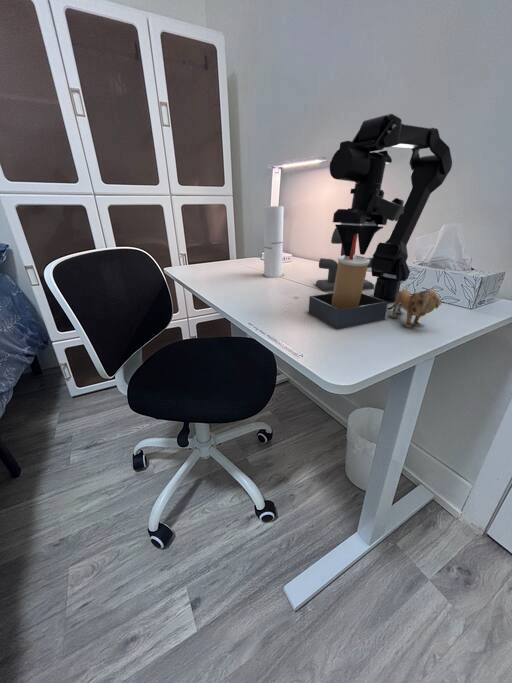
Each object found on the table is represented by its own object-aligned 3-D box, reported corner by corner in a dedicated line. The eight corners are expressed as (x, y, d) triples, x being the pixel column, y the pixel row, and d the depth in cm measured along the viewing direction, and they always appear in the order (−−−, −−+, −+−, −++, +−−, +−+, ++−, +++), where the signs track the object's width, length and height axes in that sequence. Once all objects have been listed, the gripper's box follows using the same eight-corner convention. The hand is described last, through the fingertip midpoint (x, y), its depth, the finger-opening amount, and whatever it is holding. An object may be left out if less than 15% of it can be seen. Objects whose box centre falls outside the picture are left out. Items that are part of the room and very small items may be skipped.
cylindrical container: (282, 277, 113) (284, 206, 102) (264, 277, 113) (264, 206, 102) (281, 272, 120) (282, 206, 109) (264, 273, 120) (263, 206, 109)
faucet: (354, 277, 111) (362, 220, 102) (375, 288, 96) (385, 223, 88) (308, 279, 109) (312, 222, 100) (322, 291, 94) (328, 225, 86)
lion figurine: (438, 331, 64) (449, 291, 60) (417, 334, 63) (427, 293, 59) (395, 310, 77) (402, 276, 73) (377, 311, 76) (383, 277, 72)
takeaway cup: (345, 305, 78) (360, 230, 68) (363, 316, 72) (382, 236, 62) (323, 308, 75) (336, 231, 65) (340, 320, 70) (356, 238, 60)
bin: (351, 305, 81) (353, 289, 79) (384, 319, 71) (388, 301, 69) (308, 312, 76) (309, 296, 74) (337, 329, 66) (339, 310, 64)
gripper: (392, 178, 55) (374, 262, 61) (416, 188, 68) (400, 257, 74) (337, 179, 61) (326, 256, 67) (369, 189, 74) (358, 252, 80)
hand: (355, 255), depth 72 cm, fingers open, 9 cm apart
